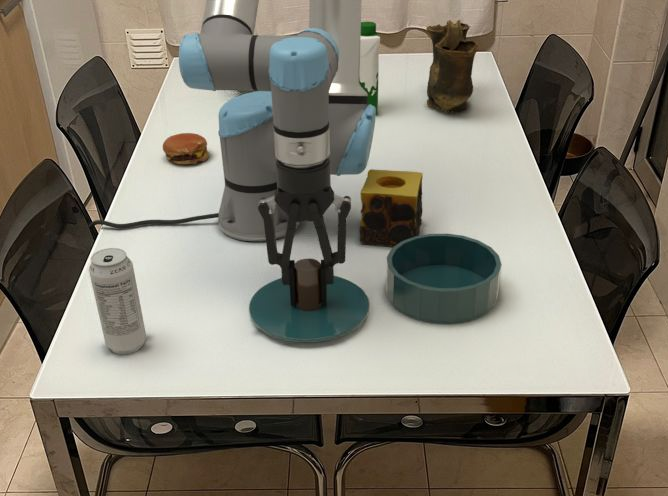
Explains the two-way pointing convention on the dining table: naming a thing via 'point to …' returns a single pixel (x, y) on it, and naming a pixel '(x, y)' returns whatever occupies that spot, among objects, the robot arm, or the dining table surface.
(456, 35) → the pottery vessel
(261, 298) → the lid
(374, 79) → the milk carton
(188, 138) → the burger
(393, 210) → the candle
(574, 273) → the dining table surface
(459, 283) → the pot
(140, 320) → the energy drink can
